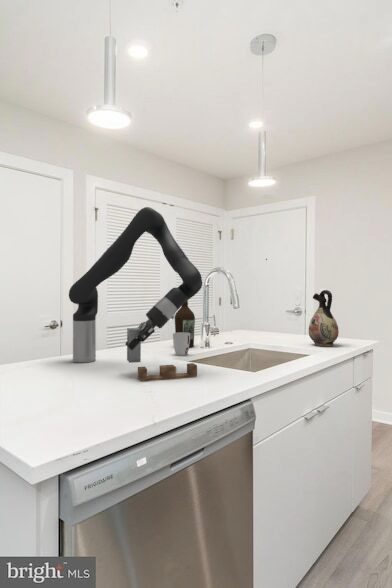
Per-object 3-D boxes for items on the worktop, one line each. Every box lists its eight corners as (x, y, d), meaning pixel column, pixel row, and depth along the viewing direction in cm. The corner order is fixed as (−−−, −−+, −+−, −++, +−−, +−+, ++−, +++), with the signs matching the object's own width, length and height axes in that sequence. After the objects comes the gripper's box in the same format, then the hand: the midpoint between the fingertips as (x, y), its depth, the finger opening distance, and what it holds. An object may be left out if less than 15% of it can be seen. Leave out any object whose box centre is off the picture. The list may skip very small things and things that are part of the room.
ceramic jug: (302, 344, 209) (302, 289, 209) (323, 342, 216) (324, 289, 215) (324, 348, 194) (325, 290, 193) (347, 346, 200) (347, 289, 200)
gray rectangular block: (129, 362, 132) (129, 329, 132) (127, 360, 137) (127, 328, 136) (140, 362, 134) (140, 329, 134) (138, 359, 138) (138, 327, 138)
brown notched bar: (140, 381, 126) (140, 369, 126) (137, 378, 129) (137, 367, 129) (197, 376, 132) (197, 365, 132) (193, 374, 136) (193, 363, 136)
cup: (189, 356, 173) (189, 334, 173) (172, 356, 173) (172, 334, 173) (190, 353, 181) (190, 332, 181) (173, 353, 181) (173, 332, 181)
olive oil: (171, 346, 202) (170, 299, 202) (187, 345, 208) (187, 299, 207) (181, 349, 193) (181, 299, 193) (198, 347, 199) (198, 299, 199)
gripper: (150, 304, 144) (117, 337, 140) (159, 306, 131) (124, 342, 127) (163, 318, 146) (132, 351, 142) (174, 321, 132) (139, 357, 129)
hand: (128, 346), depth 134 cm, fingers closed on gray rectangular block, 4 cm apart
